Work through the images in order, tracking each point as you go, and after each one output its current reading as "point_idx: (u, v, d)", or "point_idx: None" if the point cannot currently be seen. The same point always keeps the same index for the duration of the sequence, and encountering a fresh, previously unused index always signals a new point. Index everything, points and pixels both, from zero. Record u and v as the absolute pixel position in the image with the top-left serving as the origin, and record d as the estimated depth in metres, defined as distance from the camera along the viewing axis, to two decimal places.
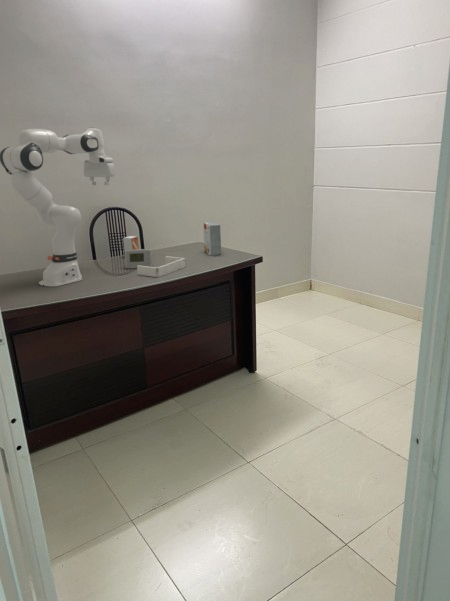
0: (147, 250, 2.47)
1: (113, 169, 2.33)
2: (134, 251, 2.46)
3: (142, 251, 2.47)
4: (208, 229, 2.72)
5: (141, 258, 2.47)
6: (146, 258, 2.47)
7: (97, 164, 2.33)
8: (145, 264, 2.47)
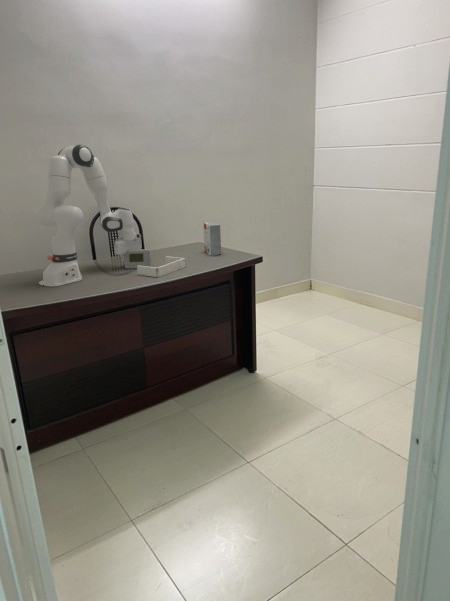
0: (147, 250, 2.47)
1: None
2: (133, 252, 2.46)
3: (142, 251, 2.46)
4: (208, 229, 2.72)
5: (141, 258, 2.46)
6: (146, 258, 2.46)
7: (133, 240, 2.48)
8: (144, 264, 2.46)
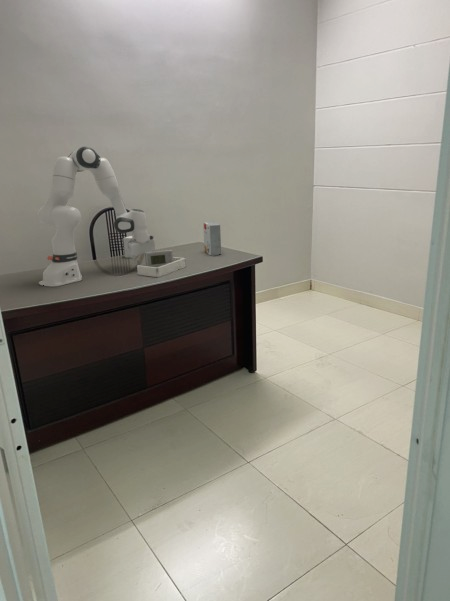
0: (168, 251, 2.40)
1: None
2: (155, 253, 2.38)
3: (163, 252, 2.39)
4: (208, 229, 2.72)
5: (163, 260, 2.40)
6: (168, 259, 2.40)
7: (146, 242, 2.43)
8: None
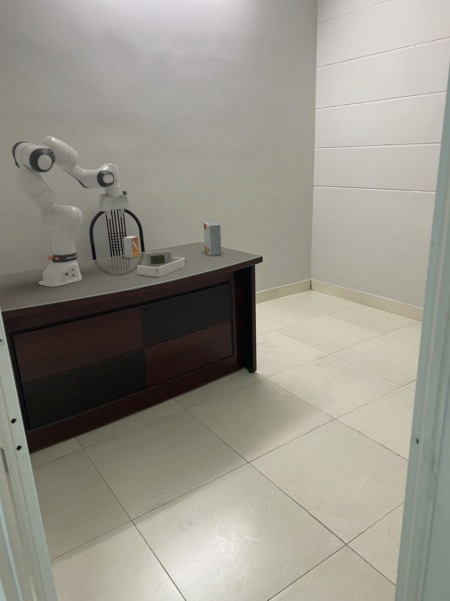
0: (167, 251, 2.42)
1: None
2: (154, 253, 2.39)
3: (163, 253, 2.41)
4: (208, 229, 2.72)
5: (162, 260, 2.40)
6: (167, 260, 2.41)
7: (119, 197, 2.39)
8: None
